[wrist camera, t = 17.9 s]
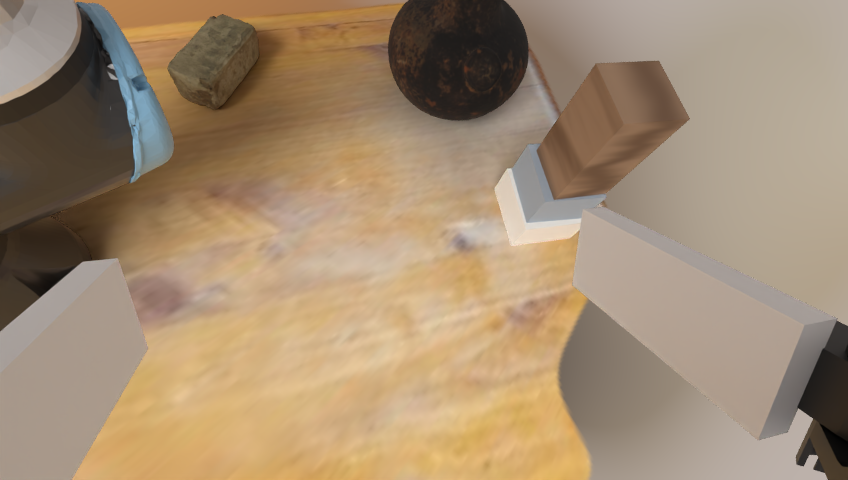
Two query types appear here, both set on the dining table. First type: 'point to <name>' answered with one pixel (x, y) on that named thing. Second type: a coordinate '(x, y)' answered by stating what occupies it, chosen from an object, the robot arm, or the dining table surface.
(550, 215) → the tower top block
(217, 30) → the stone block
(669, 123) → the walnut block
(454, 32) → the dark brown bulbous vessel
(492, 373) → the dining table surface
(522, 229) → the tower base block
